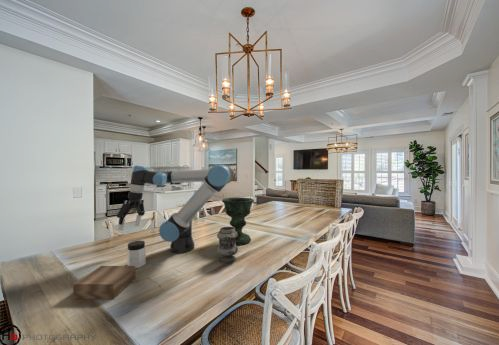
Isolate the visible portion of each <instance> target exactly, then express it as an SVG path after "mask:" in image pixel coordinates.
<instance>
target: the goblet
mask: <svg viewBox="0 0 499 345" xmlns="http://www.w3.org/2000/svg"><path fill="white" fill-rule="evenodd" d="M221 202H222V203H223V205H224V207H225V214H226V215H227V216H228V217H230V218H231V220H230V221H229V225H230V227H234V228H235V231H236V232H237V233H238V236H237V238H236V246H241V245H246V244H249V243H250V242H251V241H252V238H251V236H250V235H249V234H247V233H245V232H243V228H244V227H245V226H246V225H247V221H246V219H245V218H246V217H247V216H249V215H250V214H251V207H252V205H253V203H254V202H255V200H254V198H251V197H240V196H239V197H238V196H237V197H236V196H235V197H228V198H223V199H222V200H221Z"/></svg>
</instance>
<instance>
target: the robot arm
mask: <svg viewBox="0 0 499 345" xmlns="http://www.w3.org/2000/svg"><path fill="white" fill-rule="evenodd" d="M131 173H132V174H131V179H130V180H131V181H130V184H129V188H128V190H129V191H128V195H127V198H128V200H126V199H124V200H123V203H122V206H121V207H120V209H119V211H118V213H117V214H116V218H118V227H117V230H118V231H124V227H125V223H126V216H127V215H128V213H129V212H130V211H131V210H132V209H135V210H136V213H137V214H136V218H135V223H134V227H140V226H141V220H142V217H143V216H144V215H145V213H146V212H145V205H144V203H145V202H144V201H145V200H144V199H143V196H144V190H145V185H146V184H149V185H154V186H160V187H161V186H163V187H164V186H165V185H166V184H175V183H177V184H178V183H179V184H181V183H197V182H198V183H200V182H203V183H202V184H201V185H200V186H199V188H198V189H197V190H196V191H195V192H194V193H193V195H192V196H191V197H190V198H189V199H188V200H187V201H186V202H185V204H184V205H183V206H182V207H181V208H180V209H179V211H178V212H173V213H172V214H171V216H170V217H169V218H168V219H167V220H166V221H164V222H162V223H161V225H160V226H159V230H158V232H159V236H160V237H161V239H162V240H163V241H165V242H169V243H170V246H169V249H170V252H172V253H176V254H181V253H183V254H184V253H187V252H192V251H193V250H195V246H196V245H195V242H194V238H193V232H192V230H193V225H192V224H193V218H194V217H195V216H196V215H197V214H198V213H199V212H200V211H201V209H202V208H203V207H204V206H205V205H206V204H207V203H208V201H210V199H211V198H212V197H213V196H214V195H215V194H216V193H220V192H221V191H222V190H223V188H224V187H225V186H227V185H228V184H229V183H231V181H232V180H233V179H234V170H233V169H232V168H231V167H230V166H229V165H225V164H215V165H214V166H212V167H210V168H209V169H191V170H172V171H171V170H170V171H169V170H167V171H151V170H149V169H148V167H147V166H143V165H134V166H133V170H132V172H131Z"/></svg>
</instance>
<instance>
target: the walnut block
mask: <svg viewBox="0 0 499 345" xmlns="http://www.w3.org/2000/svg"><path fill="white" fill-rule="evenodd" d="M135 280H136V268H135V266H127V265H100V266H99V267H97V268H96V269H95V270H93V271H91V272H89V273H88V274H86V275H85V276H83V277H81V278H80V279H78V280H77V281H75V282H74V283H73V286H72V287H73V288H72V289H73V290H72V291H73V292H72V293H73V300H115V299H116V298H117V297H118V296H119V295H120V294H121V293H122V292H123V291H124V290H125V289H126V288H127V287H129V285H131V283H133V282H134V281H135Z"/></svg>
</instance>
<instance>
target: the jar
mask: <svg viewBox="0 0 499 345" xmlns="http://www.w3.org/2000/svg"><path fill="white" fill-rule="evenodd" d="M145 243H146V242H145V240H134V241H131V242H128V243H127V249H126V251H127V252H126V256H127V258H126V262H127V263H126V266H135V269H139V268H141V267H143V266H145V265H146V264H147V263H146V259H147V258H146V256H147V254H146V253H147V252H146V244H145Z"/></svg>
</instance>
